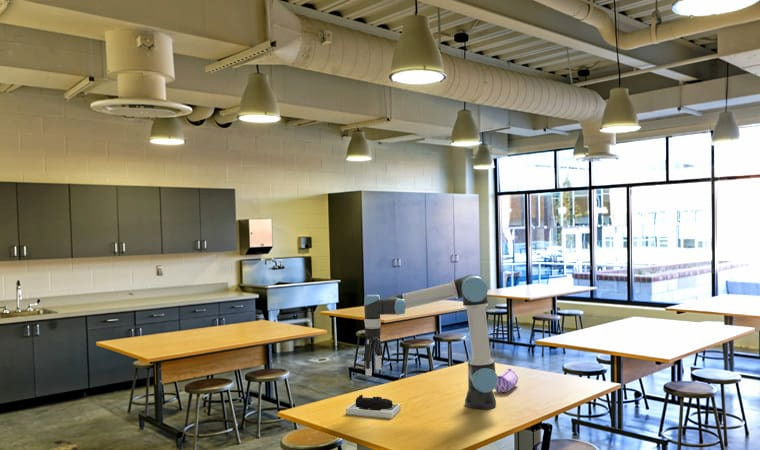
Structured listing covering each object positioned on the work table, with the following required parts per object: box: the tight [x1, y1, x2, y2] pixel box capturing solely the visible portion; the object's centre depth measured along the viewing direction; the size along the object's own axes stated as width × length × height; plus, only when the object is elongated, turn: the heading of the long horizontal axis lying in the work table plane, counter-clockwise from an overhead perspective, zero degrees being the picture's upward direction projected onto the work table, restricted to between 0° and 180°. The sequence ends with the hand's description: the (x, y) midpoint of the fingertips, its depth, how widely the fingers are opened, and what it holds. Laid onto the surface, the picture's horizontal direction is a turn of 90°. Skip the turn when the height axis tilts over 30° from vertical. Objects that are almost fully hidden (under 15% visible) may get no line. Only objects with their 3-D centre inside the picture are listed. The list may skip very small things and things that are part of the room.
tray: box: [345, 401, 402, 420], centre depth 284 cm, size 22×14×3 cm, turn 71°
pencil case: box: [494, 368, 519, 393], centre depth 326 cm, size 22×9×10 cm, turn 155°
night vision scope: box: [355, 394, 393, 411], centre depth 283 cm, size 8×18×10 cm
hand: (373, 372), depth 284 cm, fingers open, 13 cm apart
